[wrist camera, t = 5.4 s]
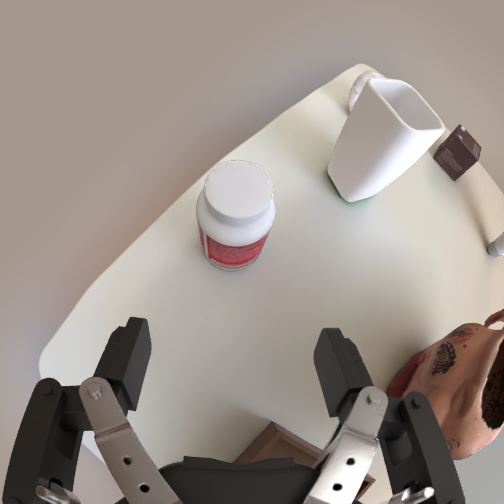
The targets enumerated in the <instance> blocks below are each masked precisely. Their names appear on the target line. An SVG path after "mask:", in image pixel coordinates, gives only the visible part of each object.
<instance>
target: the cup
mask: <svg viewBox="0 0 504 504" xmlns="http://www.w3.org/2000/svg"><path fill="white" fill-rule="evenodd" d="M443 132H444V125H443V122H442V121H441V120H440V118H439V117H438V115H437V114H436V113H435V112H434V110H433V109H432V108H431V107H430V106H429V104H428V103H427V102H426V101H425V100H424V99H423V97H422V96H421V95H420V94H419V93H418V92H417V91H416V90H415V89H414V88H413V87H412V86H410V85H409V84H407V83H405V82H403V81H400V80H395V79H385V78H369V79H368V80H367V82H366V84H365V85H364V87H363V89H362V91H361V93H360V95H359V97H358V98H357V100H356V102H355V104H354V106H353V108H352V110H351V112H350V114H349V116H348V118H347V120H346V122H345V124H344V126H343V129H342V131H341V133H340V135H339V137H338V140H337V142H336V145H335V147H334V150H333V153H332V155H331V158H330V161H329V164H328V167H327V172H328V174H329V176H330V178H331V179H332V181H333V183H334V184H335V186H336V188H337V190H338V191H339V193H340V195H341V196H342V197H343V198H344V199H345V200H346V201H349V202H356V201H359V200H362V199H365V198H368V197H371V196H373V195H374V194H376V193H377V192H379V191H380V190H382V189H383V188H384V187H386V186H387V185H388V184H390V183H391V182H392V181H394V180H395V179H396V178H397V177H399V176H400V175H401V174H402V173H403V172H404V171H405V170H407V169H408V168H409V167H410V166H411V165H412V164H413V163H414V162H415V161H416V160H417V159H418V158H419V157H420V156H421V155H422V154H423V153H424V152H425V151H427V149H428V148H429V147H430V146H431V145H432V144H433V143H434V142H435V141H436V140H437V139H438V138H439V137H440V135H441V134H442V133H443Z"/></svg>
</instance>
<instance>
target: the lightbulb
mask: <svg viewBox="0 0 504 504" xmlns="http://www.w3.org/2000/svg"><path fill="white" fill-rule="evenodd" d="M488 253H489V254H490V255H491V256H492V257H496V256H499V255H504V232H503V234H502V235H501V236H499V237H498V238H497V239H496V240H495V241H493V242H492V243H490V244H489V246H488Z"/></svg>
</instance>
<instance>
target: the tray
mask: <svg viewBox="0 0 504 504" xmlns="http://www.w3.org/2000/svg"><path fill="white" fill-rule="evenodd" d="M321 453H322V450H320V449H319V448H317V447H315V446H313V445H311V444H310V443H308V442H306V441H304V440H303V439H301V438H299V437H297V436H296V435H294V434H292V433H291V432H289V431H288V430H286V429H284V428H283V427H281V426H280V425H278V424H276V423H275V422H273V421H272V422H271V423H270V424H269V426H268V427H267V428H266V429H265V430H264V431H263V432H262V433H261V434H260V436H259V437H258V438H257V439H256V440H255V441H254V442H253V443H252V444H251V445H250V446H249V447H248V448H247V449H246V450H245V451H244V452H243V453H242V454H241V455H240V456H239V457H238V458H237V459H236V460H235V461H234V462H233V463H232V464H236V465H244V464H248V463H252V462H256V461H260V460H264V459H271V458H286V457H294V462H295V463H300V464H304V465H307V466H310V467H312V466H313V464H314V463H315V461H316V460H317V459H318V457H319V456H320V454H321ZM374 482H375V479H374V478H372V477H371V476H370V475H368V474H367V473H366V475H365V477H364V480H363V482H362V484H361V486H360V488H359V490H358V492H357V494H356V496H355V499H356V500H358V499H359V498H360V497H361V496H362V495H363V494H364V493H365V492H366V491H367V490H368V488H369V487H370V486H371V485H372V484H373V483H374Z"/></svg>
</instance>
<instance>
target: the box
mask: <svg viewBox="0 0 504 504" xmlns="http://www.w3.org/2000/svg"><path fill="white" fill-rule="evenodd" d="M480 151H481V147H480V146H479V144H478V143H477V142H476V141H475V140H474V139H473V138H472V136H471V135H470V134H469V133H468V132H467V131H466V130H465V129H464V128H463V127H462V126H461V125H458V127H457V128H456V129H455V130H454V131H453V132H452V133H451V134H450V135H449V137H448V138H447V139H446V140H445V141H444V142H443V143H442V144H441V145H440V146H439V148H438V150H437V151H436V153H435V155H434V159H435V160H436V161H437V162H438V163H439V164H440V165H441V166H442V167H443V168H444V169H445V171H446V172H447V173H448V174H449V175H450V176H451V177H452V179H453V180H454V181H455V180H456V179H458V178H459V177H460V176H461V175H462V174H463V173H465V172H466V171H467V170H468V169H469V168H470V167H471V166H473V165H474V164H475V163H476V162H477V161H478V160H479V156H480Z"/></svg>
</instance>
